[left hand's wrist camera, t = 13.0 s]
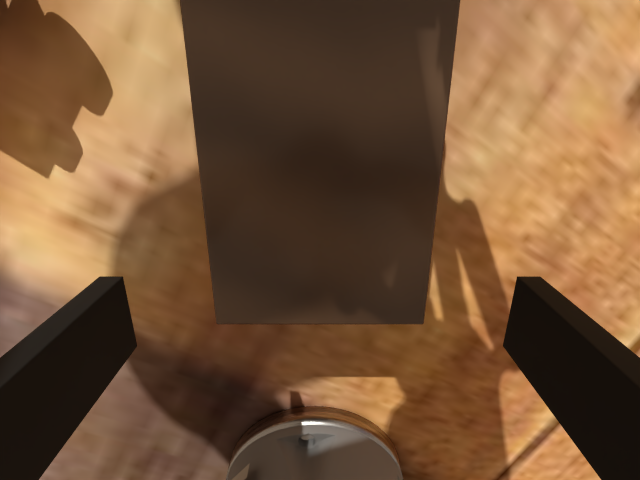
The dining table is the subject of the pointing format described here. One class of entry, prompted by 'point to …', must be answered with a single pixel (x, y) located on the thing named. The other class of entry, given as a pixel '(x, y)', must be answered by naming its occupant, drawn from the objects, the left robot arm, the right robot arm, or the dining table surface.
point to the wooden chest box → (320, 153)
